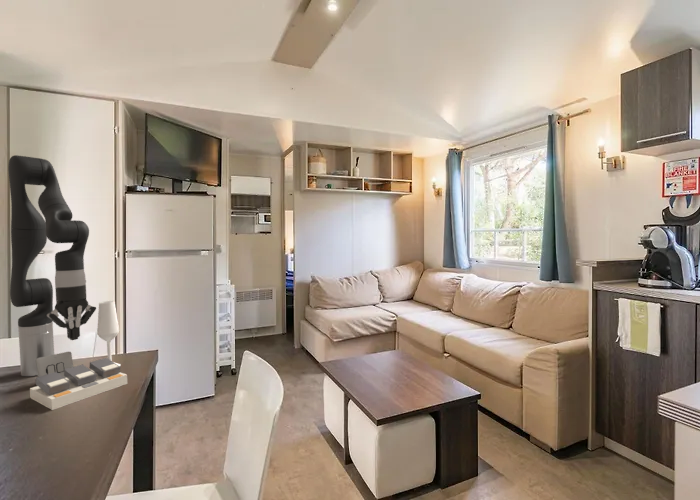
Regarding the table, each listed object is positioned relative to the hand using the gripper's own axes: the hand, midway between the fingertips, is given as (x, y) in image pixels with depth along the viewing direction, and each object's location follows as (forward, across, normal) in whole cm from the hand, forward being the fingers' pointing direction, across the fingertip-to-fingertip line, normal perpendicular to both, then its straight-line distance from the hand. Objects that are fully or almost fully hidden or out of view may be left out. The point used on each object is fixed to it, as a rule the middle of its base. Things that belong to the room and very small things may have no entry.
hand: (73, 339), depth 113 cm
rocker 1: (+11, +7, +3) cm, 13 cm away
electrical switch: (+16, +1, -13) cm, 21 cm away
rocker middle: (+11, 0, +3) cm, 11 cm away
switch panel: (+16, 0, +3) cm, 16 cm away
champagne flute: (+16, -15, -11) cm, 25 cm away
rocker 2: (+11, -7, +3) cm, 13 cm away
